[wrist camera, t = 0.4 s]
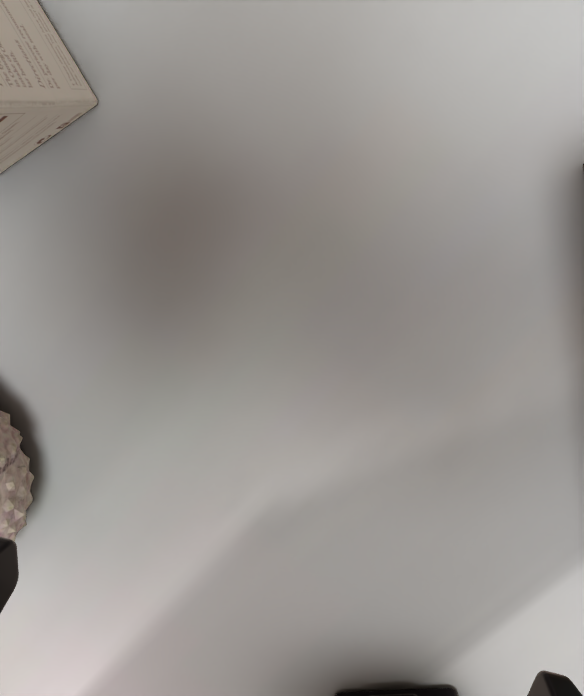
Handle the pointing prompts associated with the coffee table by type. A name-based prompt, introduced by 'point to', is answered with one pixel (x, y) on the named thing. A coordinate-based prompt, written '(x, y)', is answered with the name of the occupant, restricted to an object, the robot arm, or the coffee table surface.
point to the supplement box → (35, 81)
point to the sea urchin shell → (13, 480)
